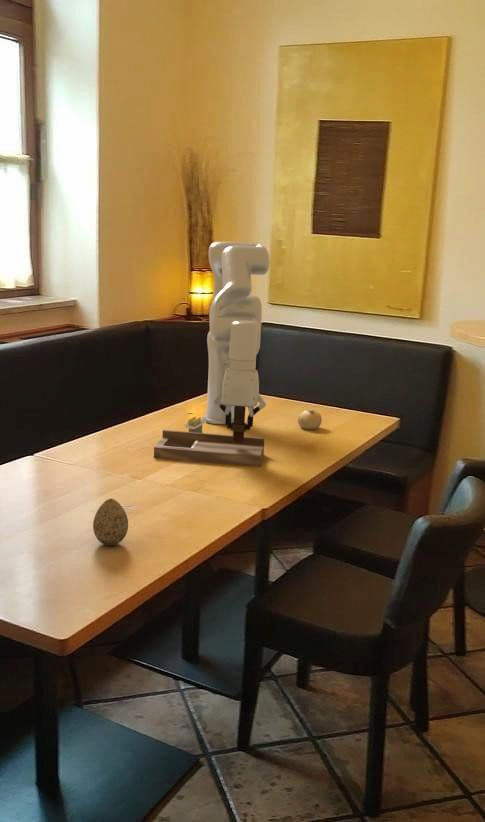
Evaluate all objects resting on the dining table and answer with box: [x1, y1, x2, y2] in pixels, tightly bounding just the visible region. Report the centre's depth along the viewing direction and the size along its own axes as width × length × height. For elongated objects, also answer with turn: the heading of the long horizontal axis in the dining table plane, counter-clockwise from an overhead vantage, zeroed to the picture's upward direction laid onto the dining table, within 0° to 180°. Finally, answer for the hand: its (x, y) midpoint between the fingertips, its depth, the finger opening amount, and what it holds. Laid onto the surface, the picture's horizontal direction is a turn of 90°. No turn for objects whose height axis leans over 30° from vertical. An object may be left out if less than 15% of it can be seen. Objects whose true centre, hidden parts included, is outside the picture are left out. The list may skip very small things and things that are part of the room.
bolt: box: [229, 406, 248, 443], centre depth 229 cm, size 6×5×15 cm
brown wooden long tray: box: [153, 429, 265, 468], centre depth 232 cm, size 12×30×5 cm, turn 83°
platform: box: [184, 415, 207, 433], centre depth 251 cm, size 12×18×7 cm, turn 160°
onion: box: [297, 408, 323, 430], centre depth 269 cm, size 8×8×7 cm
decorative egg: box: [92, 498, 129, 547], centre depth 167 cm, size 7×7×10 cm
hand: (238, 427), depth 230 cm, fingers closed on bolt, 5 cm apart
